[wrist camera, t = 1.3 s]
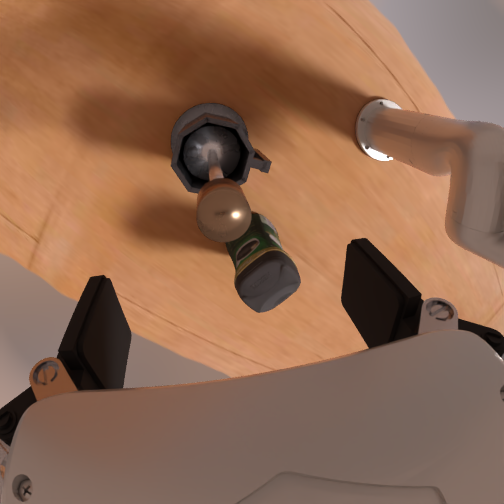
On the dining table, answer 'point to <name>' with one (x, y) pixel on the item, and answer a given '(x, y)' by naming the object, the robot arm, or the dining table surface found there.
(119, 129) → the dining table surface
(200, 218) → the plunger
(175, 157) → the press carafe
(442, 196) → the dining table surface
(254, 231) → the coffee jar
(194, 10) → the dining table surface
